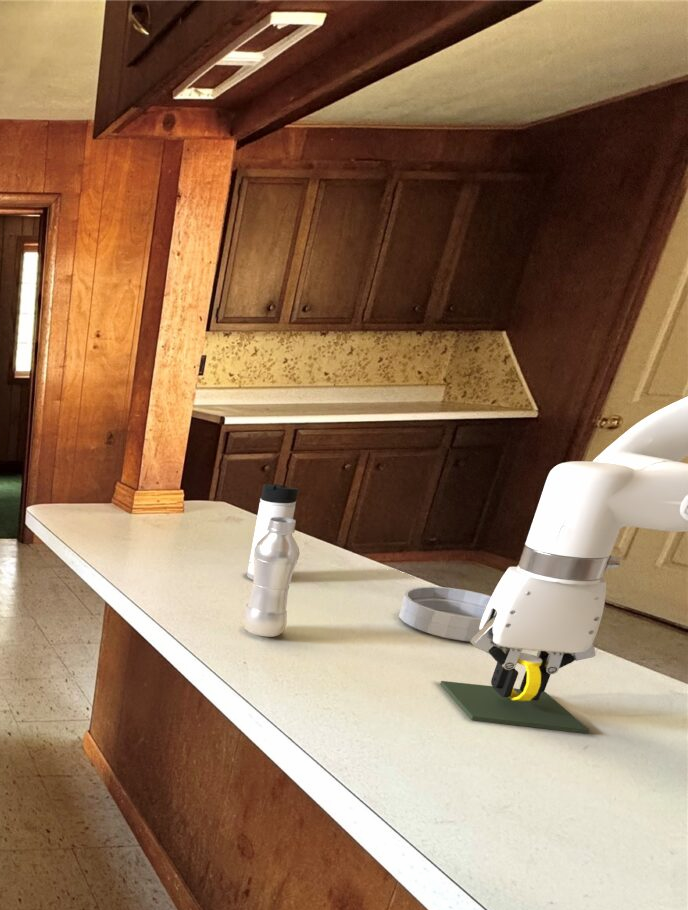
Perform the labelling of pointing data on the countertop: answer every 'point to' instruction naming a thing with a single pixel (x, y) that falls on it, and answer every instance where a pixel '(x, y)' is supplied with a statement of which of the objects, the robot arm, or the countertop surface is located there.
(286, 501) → the travel mug
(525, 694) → the watch
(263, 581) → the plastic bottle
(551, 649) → the robot arm
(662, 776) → the countertop surface
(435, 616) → the basin
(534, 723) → the mat
